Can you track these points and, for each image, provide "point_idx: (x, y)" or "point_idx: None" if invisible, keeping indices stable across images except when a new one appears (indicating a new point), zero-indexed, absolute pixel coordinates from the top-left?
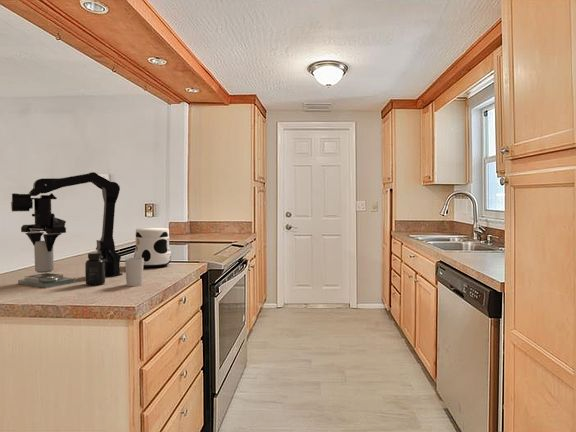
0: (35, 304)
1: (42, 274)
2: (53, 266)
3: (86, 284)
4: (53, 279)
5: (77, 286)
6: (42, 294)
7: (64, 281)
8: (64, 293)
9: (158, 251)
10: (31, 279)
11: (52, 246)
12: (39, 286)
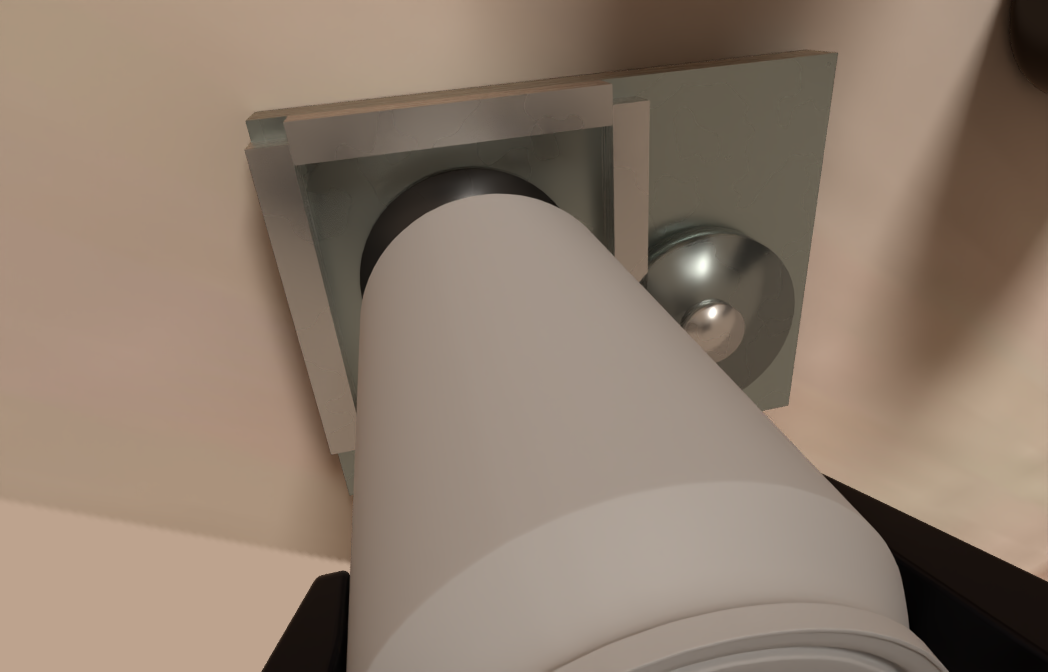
0: (1042, 577)
1: (314, 237)
2: (597, 239)
3: (1045, 91)
4: (785, 331)
5: (978, 177)
6: (911, 482)
7: (808, 206)
8: (1036, 382)
9: None
10: None
11: (942, 544)
12: None
